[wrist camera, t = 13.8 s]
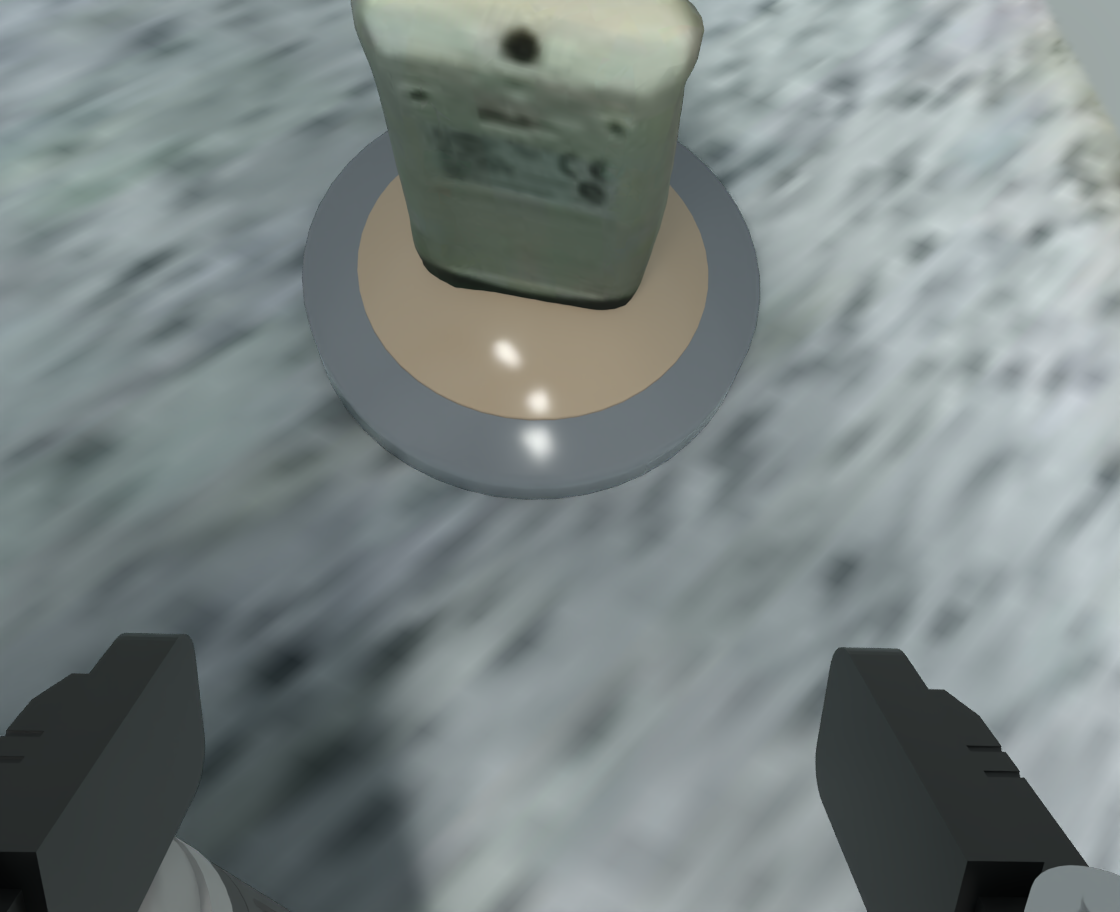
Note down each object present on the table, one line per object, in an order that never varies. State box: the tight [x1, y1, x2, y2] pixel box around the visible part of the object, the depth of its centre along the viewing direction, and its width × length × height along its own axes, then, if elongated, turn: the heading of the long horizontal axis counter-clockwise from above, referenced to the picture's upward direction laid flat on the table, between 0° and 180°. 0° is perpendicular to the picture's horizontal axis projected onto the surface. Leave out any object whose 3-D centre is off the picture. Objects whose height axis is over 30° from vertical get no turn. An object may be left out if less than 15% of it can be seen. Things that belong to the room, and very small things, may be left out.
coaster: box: [302, 131, 760, 499], centre depth 23 cm, size 11×11×2 cm
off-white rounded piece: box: [351, 0, 704, 310], centre depth 19 cm, size 6×5×8 cm
